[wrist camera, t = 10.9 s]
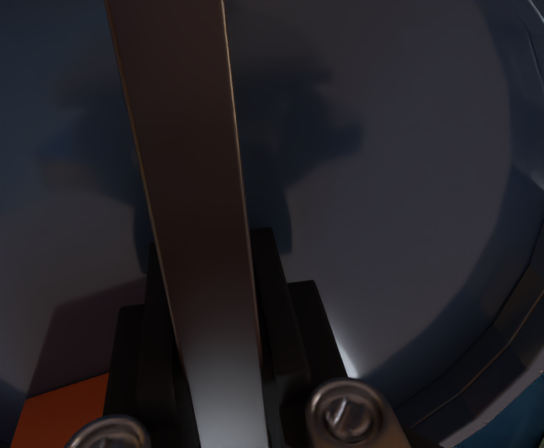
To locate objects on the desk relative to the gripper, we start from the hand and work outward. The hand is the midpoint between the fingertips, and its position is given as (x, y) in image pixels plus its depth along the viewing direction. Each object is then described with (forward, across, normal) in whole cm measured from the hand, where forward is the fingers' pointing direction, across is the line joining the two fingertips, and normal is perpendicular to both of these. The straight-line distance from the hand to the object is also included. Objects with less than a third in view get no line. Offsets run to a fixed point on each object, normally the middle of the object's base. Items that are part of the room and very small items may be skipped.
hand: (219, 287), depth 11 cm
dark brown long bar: (-3, 0, 0) cm, 3 cm away
